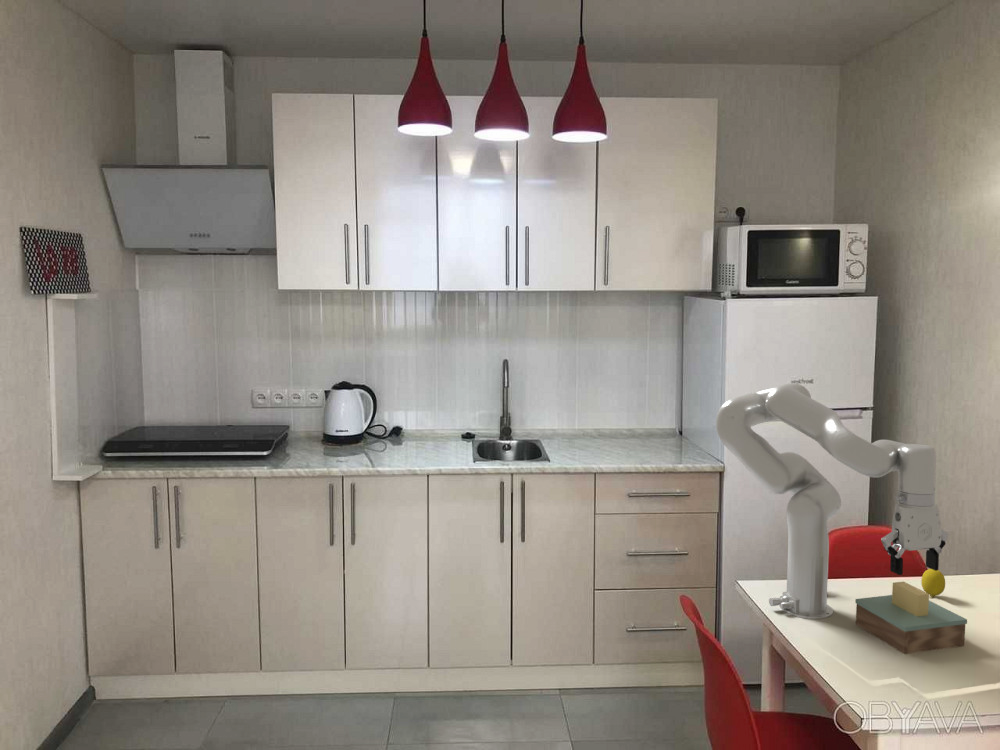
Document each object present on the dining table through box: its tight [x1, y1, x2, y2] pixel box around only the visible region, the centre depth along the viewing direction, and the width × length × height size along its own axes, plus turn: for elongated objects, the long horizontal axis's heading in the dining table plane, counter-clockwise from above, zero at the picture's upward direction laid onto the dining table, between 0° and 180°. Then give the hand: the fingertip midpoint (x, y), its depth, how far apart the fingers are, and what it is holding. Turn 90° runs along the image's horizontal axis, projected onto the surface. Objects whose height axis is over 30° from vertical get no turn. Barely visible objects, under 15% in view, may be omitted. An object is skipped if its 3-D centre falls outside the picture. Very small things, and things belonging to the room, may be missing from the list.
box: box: [855, 604, 966, 655], centre depth 184 cm, size 16×16×6 cm
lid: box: [855, 581, 968, 632], centre depth 184 cm, size 16×16×6 cm
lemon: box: [920, 568, 946, 598], centre depth 208 cm, size 6×6×8 cm
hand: (914, 570), depth 183 cm, fingers open, 9 cm apart
